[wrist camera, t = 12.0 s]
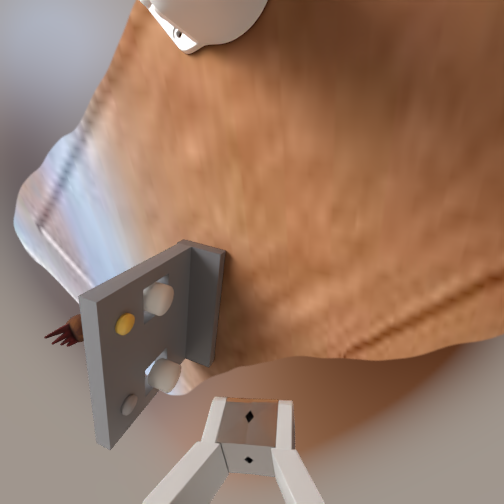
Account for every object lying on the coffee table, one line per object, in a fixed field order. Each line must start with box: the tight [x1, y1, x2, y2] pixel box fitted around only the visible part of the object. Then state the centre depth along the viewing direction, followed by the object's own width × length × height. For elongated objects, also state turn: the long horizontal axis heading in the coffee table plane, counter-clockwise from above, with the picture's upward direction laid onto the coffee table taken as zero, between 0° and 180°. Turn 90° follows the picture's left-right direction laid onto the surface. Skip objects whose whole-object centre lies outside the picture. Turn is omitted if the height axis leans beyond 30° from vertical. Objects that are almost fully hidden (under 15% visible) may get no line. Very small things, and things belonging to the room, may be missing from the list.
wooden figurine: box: [45, 314, 84, 346], centre depth 52 cm, size 7×6×15 cm
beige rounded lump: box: [143, 282, 174, 316], centre depth 40 cm, size 3×4×4 cm
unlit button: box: [148, 358, 181, 393], centre depth 45 cm, size 3×4×4 cm
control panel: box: [78, 239, 226, 450], centre depth 42 cm, size 8×24×21 cm, turn 172°
